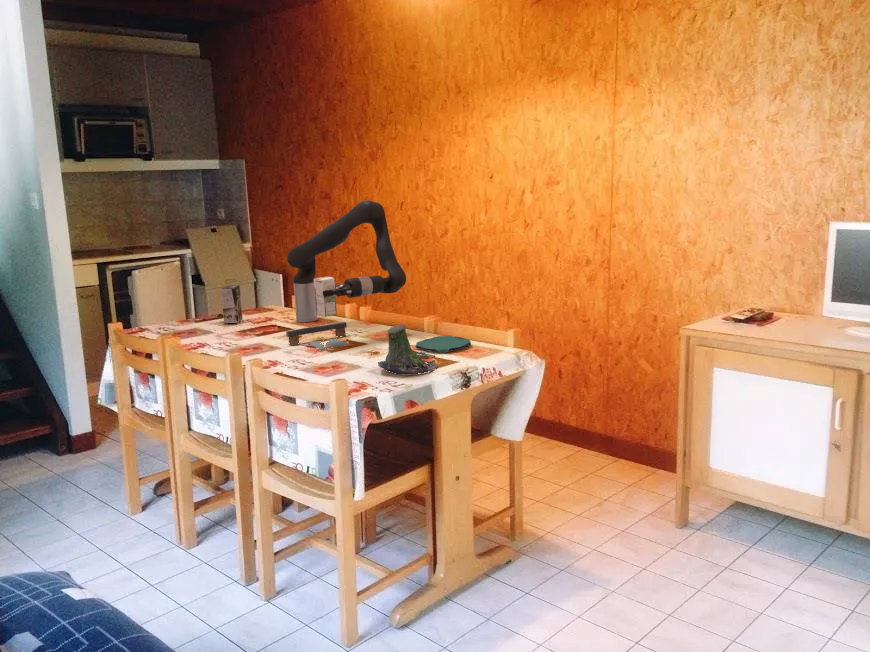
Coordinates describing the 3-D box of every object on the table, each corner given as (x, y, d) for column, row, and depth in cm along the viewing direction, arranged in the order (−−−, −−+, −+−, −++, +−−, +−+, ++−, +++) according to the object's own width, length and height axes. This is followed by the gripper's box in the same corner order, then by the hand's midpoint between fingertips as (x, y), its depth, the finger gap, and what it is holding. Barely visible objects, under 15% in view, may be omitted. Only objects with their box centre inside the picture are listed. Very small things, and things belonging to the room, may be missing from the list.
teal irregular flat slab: (481, 345, 281) (480, 339, 281) (423, 364, 261) (422, 358, 261) (443, 339, 295) (442, 333, 295) (385, 356, 275) (385, 350, 274)
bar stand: (289, 344, 295) (288, 335, 294) (342, 335, 307) (341, 326, 306) (292, 345, 292) (291, 336, 292) (345, 336, 304) (345, 327, 304)
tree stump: (450, 370, 252) (438, 322, 245) (400, 395, 243) (387, 346, 236) (420, 357, 267) (409, 310, 260) (373, 380, 258) (359, 333, 251)
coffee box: (238, 324, 336) (234, 288, 333) (223, 324, 336) (220, 288, 333) (243, 319, 345) (240, 284, 341) (229, 320, 345) (225, 285, 342)
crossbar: (286, 336, 293) (286, 331, 293) (344, 326, 306) (344, 321, 306) (288, 337, 292) (288, 331, 291) (346, 327, 304) (346, 322, 304)
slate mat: (307, 344, 293) (307, 343, 293) (335, 339, 299) (335, 338, 299) (320, 350, 283) (320, 349, 283) (349, 345, 289) (349, 343, 289)
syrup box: (328, 313, 293) (325, 276, 290) (337, 314, 289) (334, 277, 286) (316, 315, 289) (312, 278, 286) (325, 317, 285) (322, 279, 282)
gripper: (349, 275, 299) (310, 280, 291) (366, 279, 288) (326, 285, 279) (351, 294, 301) (312, 299, 292) (367, 298, 289) (328, 305, 281)
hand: (319, 292), depth 286 cm, fingers closed on syrup box, 6 cm apart
